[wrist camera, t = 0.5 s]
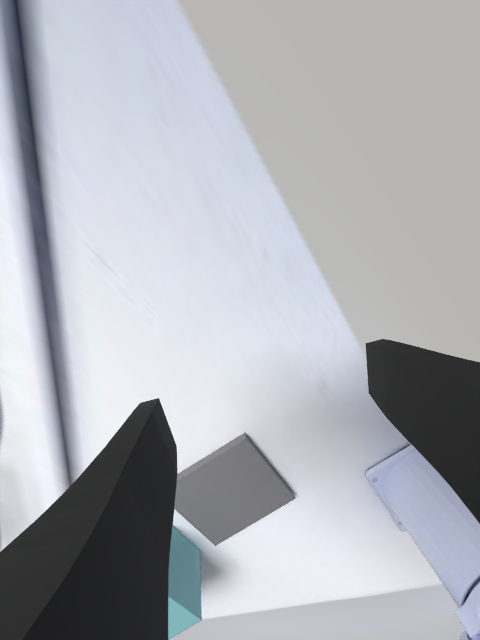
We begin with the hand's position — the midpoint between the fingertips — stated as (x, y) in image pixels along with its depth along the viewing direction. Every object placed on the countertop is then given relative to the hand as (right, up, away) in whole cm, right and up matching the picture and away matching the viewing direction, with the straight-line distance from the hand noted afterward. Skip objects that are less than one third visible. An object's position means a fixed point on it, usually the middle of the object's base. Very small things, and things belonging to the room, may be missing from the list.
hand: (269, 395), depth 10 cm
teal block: (-8, -17, +16) cm, 24 cm away
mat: (-2, -11, +14) cm, 18 cm away
